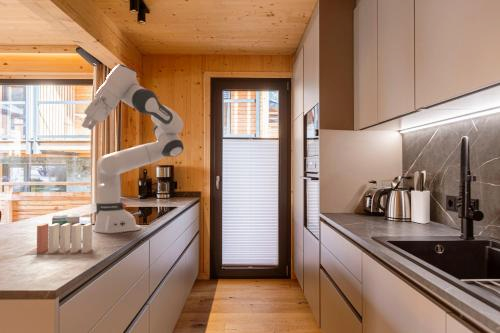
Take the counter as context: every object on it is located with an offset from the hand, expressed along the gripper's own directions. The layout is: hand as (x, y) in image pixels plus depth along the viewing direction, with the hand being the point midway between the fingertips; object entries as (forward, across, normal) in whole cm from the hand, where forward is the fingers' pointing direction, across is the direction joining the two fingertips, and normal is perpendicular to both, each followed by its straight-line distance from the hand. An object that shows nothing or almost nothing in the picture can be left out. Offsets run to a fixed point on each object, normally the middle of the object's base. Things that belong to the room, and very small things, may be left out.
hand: (86, 128), depth 130 cm
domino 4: (+41, -8, -23) cm, 48 cm away
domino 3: (+43, -7, -20) cm, 48 cm away
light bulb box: (+48, +18, -16) cm, 54 cm away
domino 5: (+39, -8, -27) cm, 48 cm away
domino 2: (+45, -6, -16) cm, 49 cm away
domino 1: (+47, -6, -13) cm, 49 cm away
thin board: (+44, -7, -20) cm, 49 cm away
